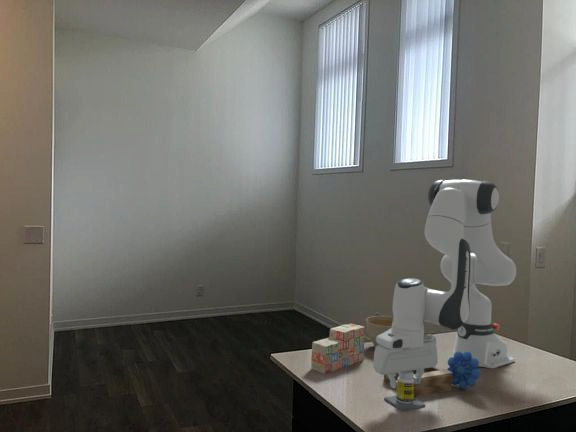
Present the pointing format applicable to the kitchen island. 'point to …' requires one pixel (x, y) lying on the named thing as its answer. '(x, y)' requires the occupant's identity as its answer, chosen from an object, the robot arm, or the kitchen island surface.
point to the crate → (430, 381)
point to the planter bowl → (378, 326)
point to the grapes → (464, 369)
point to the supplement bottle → (405, 387)
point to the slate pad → (403, 406)
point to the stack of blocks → (339, 348)
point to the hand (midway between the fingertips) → (405, 385)
